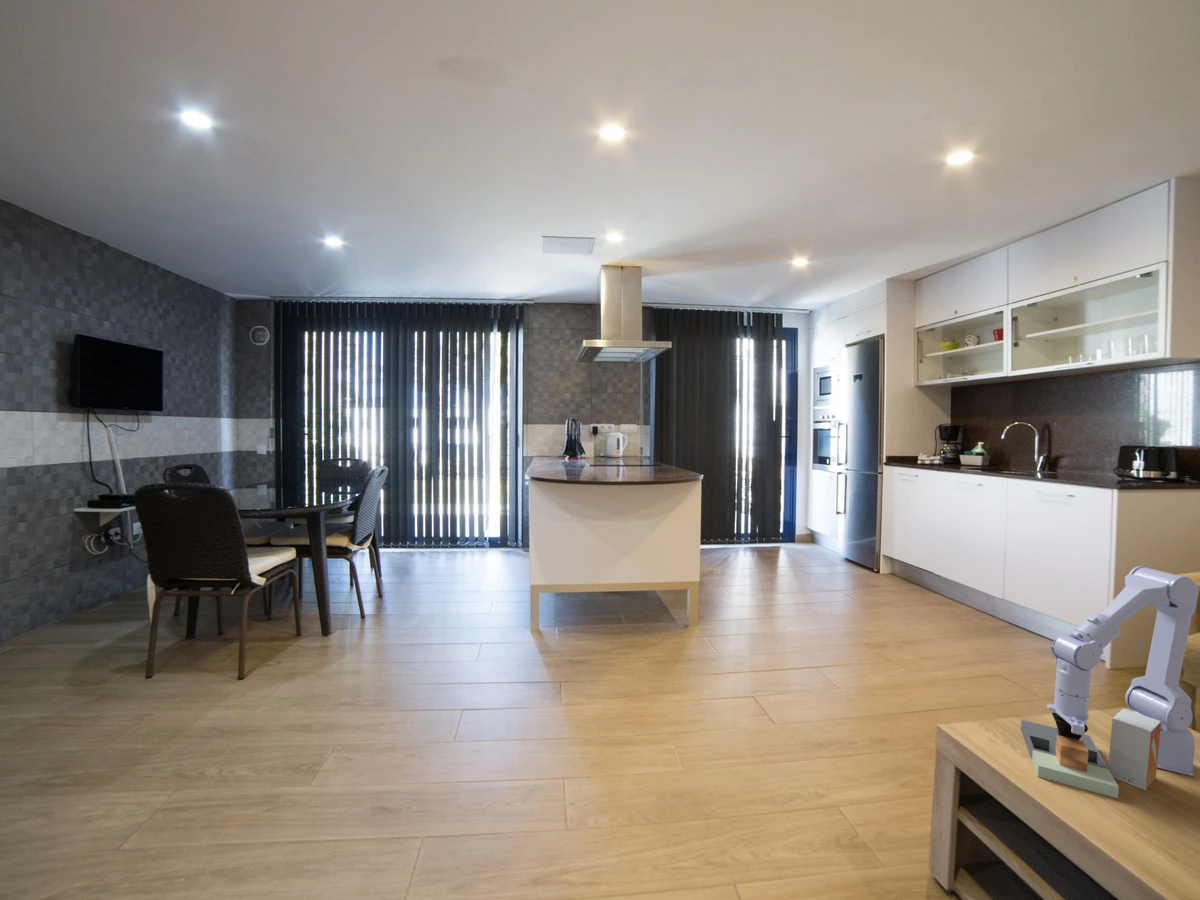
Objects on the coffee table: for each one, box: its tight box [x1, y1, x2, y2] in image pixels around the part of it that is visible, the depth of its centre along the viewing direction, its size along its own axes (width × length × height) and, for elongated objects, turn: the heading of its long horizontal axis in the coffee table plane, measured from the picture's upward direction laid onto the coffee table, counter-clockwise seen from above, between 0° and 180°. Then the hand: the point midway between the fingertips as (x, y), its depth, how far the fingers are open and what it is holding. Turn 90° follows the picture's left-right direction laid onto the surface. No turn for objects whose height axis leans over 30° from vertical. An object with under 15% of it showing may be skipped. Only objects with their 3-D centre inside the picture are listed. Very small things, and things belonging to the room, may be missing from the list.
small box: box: [1107, 708, 1161, 791], centre depth 119 cm, size 8×6×13 cm
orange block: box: [1055, 735, 1088, 772], centre depth 120 cm, size 4×4×4 cm
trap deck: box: [1020, 719, 1120, 799], centre depth 124 cm, size 13×21×2 cm, turn 150°
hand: (1067, 749), depth 123 cm, fingers closed
